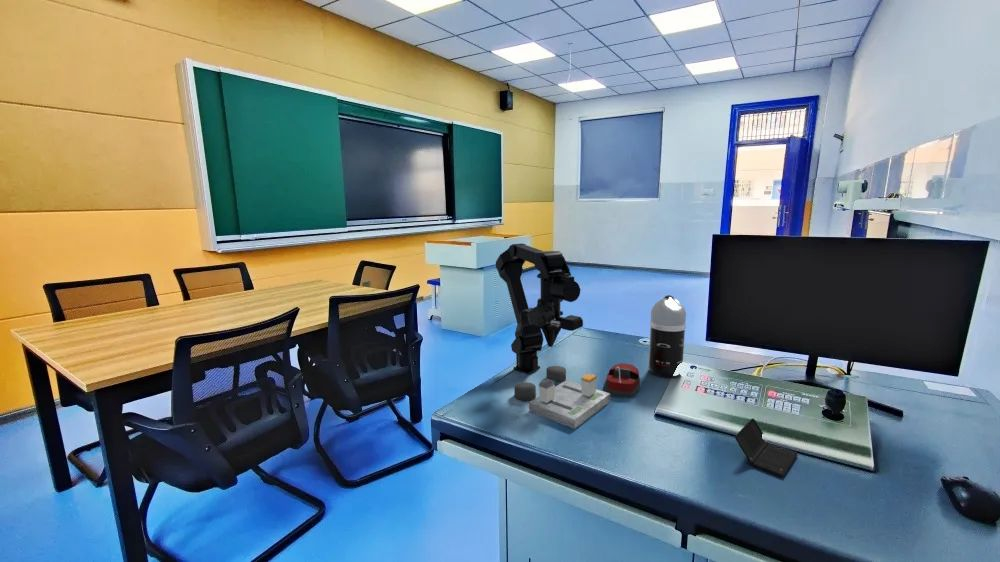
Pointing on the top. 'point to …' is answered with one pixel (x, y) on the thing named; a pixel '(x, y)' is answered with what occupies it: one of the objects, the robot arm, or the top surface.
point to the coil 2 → (556, 374)
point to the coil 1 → (525, 391)
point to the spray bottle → (666, 336)
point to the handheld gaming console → (764, 451)
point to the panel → (570, 405)
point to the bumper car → (623, 381)
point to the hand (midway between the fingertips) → (550, 346)
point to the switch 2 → (588, 384)
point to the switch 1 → (547, 390)
